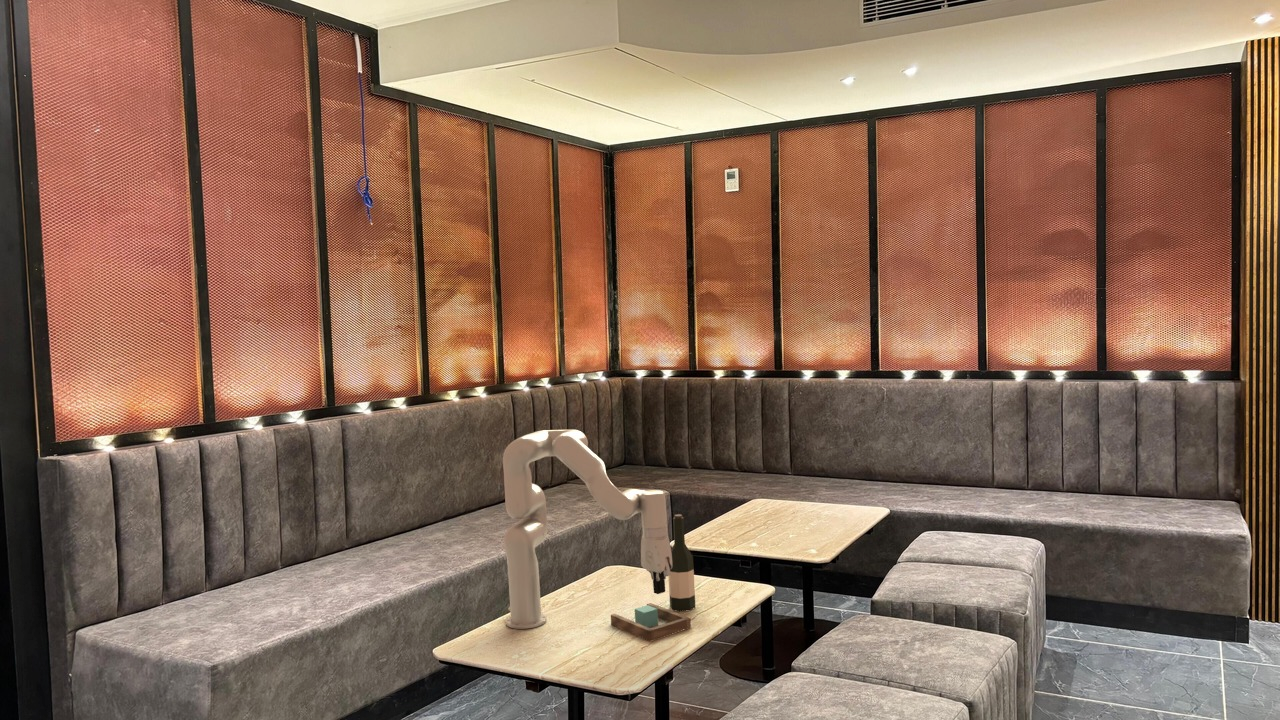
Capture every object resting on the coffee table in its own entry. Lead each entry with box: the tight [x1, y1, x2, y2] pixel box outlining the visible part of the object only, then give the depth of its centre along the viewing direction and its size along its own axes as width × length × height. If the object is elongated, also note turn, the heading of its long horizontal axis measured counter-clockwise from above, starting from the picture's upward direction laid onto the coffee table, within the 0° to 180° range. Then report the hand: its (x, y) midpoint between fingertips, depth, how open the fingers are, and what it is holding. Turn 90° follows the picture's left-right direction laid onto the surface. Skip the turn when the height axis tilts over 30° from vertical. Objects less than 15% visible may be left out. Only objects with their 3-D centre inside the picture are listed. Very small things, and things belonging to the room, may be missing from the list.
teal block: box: [634, 604, 659, 628], centre depth 267 cm, size 5×5×5 cm
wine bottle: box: [668, 513, 696, 612], centre depth 281 cm, size 8×8×30 cm
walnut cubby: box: [610, 602, 692, 642], centre depth 266 cm, size 20×16×3 cm
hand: (659, 592), depth 262 cm, fingers closed
